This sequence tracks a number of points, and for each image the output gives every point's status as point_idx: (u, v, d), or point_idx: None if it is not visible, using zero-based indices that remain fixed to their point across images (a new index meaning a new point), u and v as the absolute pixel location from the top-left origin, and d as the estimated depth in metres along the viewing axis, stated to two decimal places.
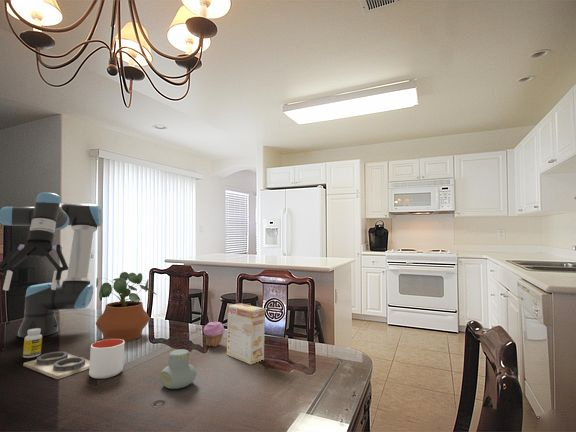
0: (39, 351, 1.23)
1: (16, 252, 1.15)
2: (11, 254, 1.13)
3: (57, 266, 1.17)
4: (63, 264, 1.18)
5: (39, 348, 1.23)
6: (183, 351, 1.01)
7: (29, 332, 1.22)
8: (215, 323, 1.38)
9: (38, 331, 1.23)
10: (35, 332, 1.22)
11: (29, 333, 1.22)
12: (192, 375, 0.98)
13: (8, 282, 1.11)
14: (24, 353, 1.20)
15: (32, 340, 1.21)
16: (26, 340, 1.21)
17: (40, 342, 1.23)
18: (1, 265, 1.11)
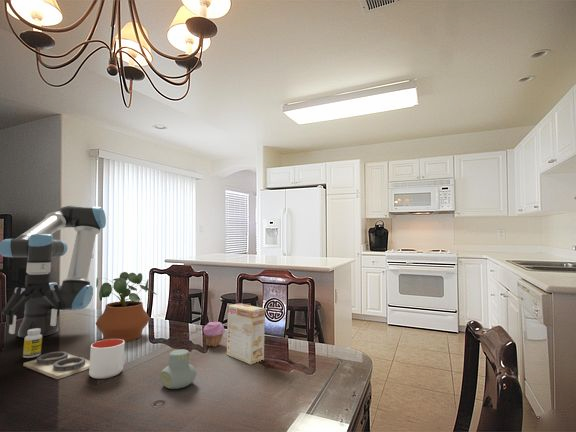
0: (39, 351, 1.23)
1: None
2: (16, 299, 1.18)
3: (57, 305, 1.30)
4: (62, 302, 1.31)
5: (39, 348, 1.23)
6: (183, 351, 1.01)
7: (29, 332, 1.22)
8: (215, 323, 1.38)
9: (38, 331, 1.23)
10: (35, 332, 1.22)
11: (29, 333, 1.22)
12: (192, 375, 0.98)
13: None
14: (24, 353, 1.20)
15: (32, 340, 1.21)
16: (26, 340, 1.21)
17: (40, 342, 1.23)
18: (7, 311, 1.15)
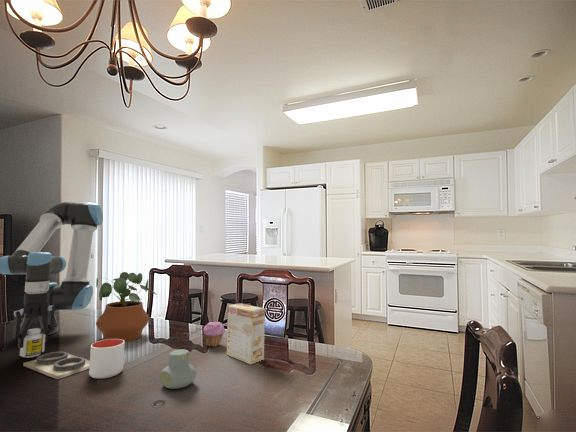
0: (39, 351, 1.23)
1: None
2: (20, 322, 1.19)
3: (46, 329, 1.26)
4: (51, 326, 1.28)
5: (39, 348, 1.23)
6: (183, 351, 1.01)
7: (29, 332, 1.22)
8: (215, 323, 1.38)
9: (38, 331, 1.23)
10: (35, 332, 1.22)
11: (29, 333, 1.22)
12: (192, 375, 0.98)
13: None
14: None
15: (32, 340, 1.21)
16: None
17: (40, 342, 1.23)
18: (17, 335, 1.18)
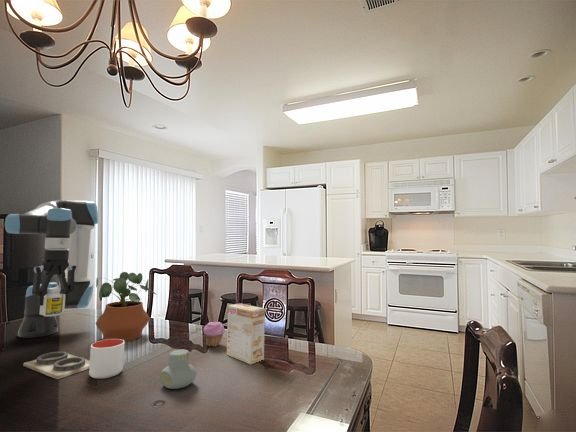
0: (59, 310, 1.18)
1: None
2: (40, 279, 1.14)
3: (66, 289, 1.21)
4: (71, 286, 1.23)
5: (59, 307, 1.18)
6: (183, 351, 1.01)
7: (49, 290, 1.16)
8: (215, 323, 1.38)
9: (58, 289, 1.18)
10: (55, 290, 1.17)
11: (49, 291, 1.16)
12: (192, 375, 0.98)
13: None
14: None
15: (52, 298, 1.16)
16: None
17: (60, 301, 1.18)
18: (37, 291, 1.13)
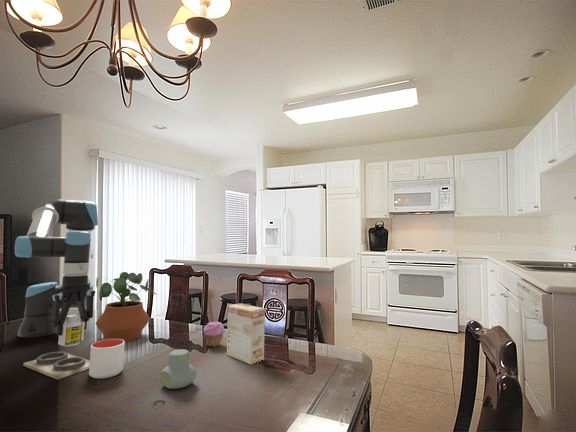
0: (79, 339, 1.11)
1: None
2: (59, 307, 1.07)
3: (85, 316, 1.15)
4: (91, 313, 1.17)
5: (79, 336, 1.12)
6: (183, 351, 1.01)
7: (68, 318, 1.10)
8: (215, 323, 1.38)
9: (77, 317, 1.12)
10: (74, 318, 1.11)
11: (68, 319, 1.10)
12: (192, 375, 0.98)
13: None
14: None
15: (71, 327, 1.10)
16: None
17: (80, 329, 1.12)
18: (57, 321, 1.07)
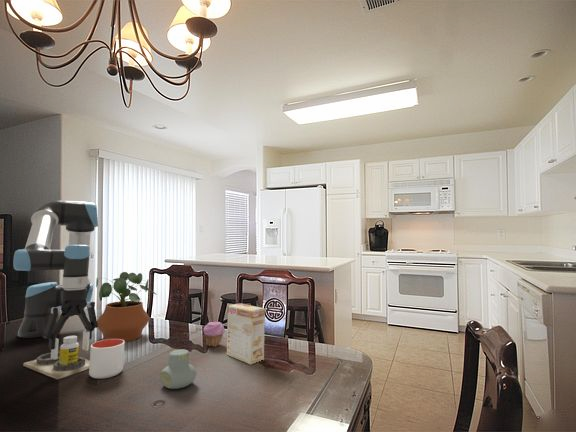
0: (76, 361, 1.11)
1: None
2: (55, 321, 1.06)
3: (90, 326, 1.16)
4: (95, 323, 1.18)
5: (76, 358, 1.11)
6: (183, 351, 1.01)
7: (65, 340, 1.09)
8: (215, 323, 1.38)
9: (75, 339, 1.11)
10: (72, 340, 1.10)
11: (65, 341, 1.09)
12: (192, 375, 0.98)
13: None
14: (60, 363, 1.08)
15: (68, 349, 1.09)
16: (62, 349, 1.09)
17: (77, 351, 1.11)
18: (49, 335, 1.05)
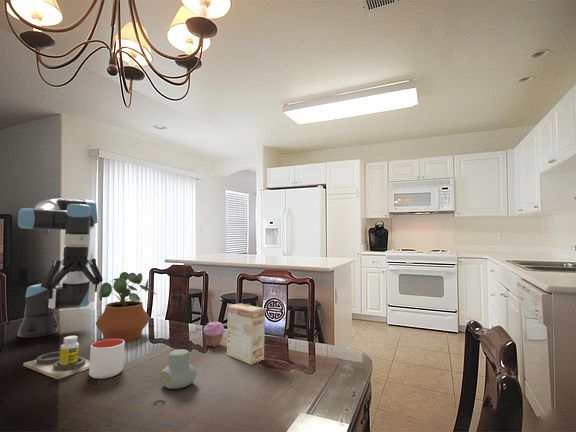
0: (76, 361, 1.11)
1: None
2: (55, 272, 1.11)
3: (95, 280, 1.23)
4: (99, 277, 1.25)
5: (76, 358, 1.11)
6: (183, 351, 1.01)
7: (66, 340, 1.09)
8: (215, 323, 1.38)
9: (75, 339, 1.11)
10: (72, 340, 1.10)
11: (66, 341, 1.09)
12: (192, 375, 0.98)
13: None
14: (60, 363, 1.08)
15: (69, 349, 1.09)
16: (62, 349, 1.09)
17: (77, 351, 1.11)
18: (47, 285, 1.09)
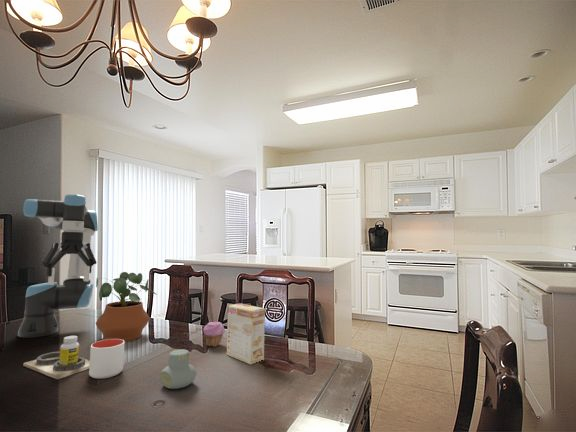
0: (76, 361, 1.11)
1: None
2: (54, 253, 1.27)
3: (89, 262, 1.39)
4: (93, 260, 1.40)
5: (76, 358, 1.11)
6: (183, 351, 1.01)
7: (65, 340, 1.09)
8: (215, 323, 1.38)
9: (75, 339, 1.11)
10: (72, 340, 1.10)
11: (65, 341, 1.09)
12: (192, 375, 0.98)
13: None
14: (60, 364, 1.08)
15: (68, 349, 1.09)
16: (62, 349, 1.09)
17: (77, 351, 1.11)
18: (47, 264, 1.24)
